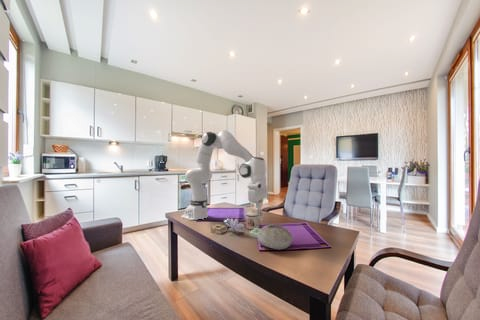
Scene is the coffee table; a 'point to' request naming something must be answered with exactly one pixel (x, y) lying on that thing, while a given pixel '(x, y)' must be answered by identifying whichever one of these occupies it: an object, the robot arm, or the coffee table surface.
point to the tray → (254, 233)
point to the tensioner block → (218, 229)
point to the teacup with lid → (252, 220)
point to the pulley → (227, 222)
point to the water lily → (234, 225)
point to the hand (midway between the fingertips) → (259, 207)
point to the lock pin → (259, 209)
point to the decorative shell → (275, 237)
